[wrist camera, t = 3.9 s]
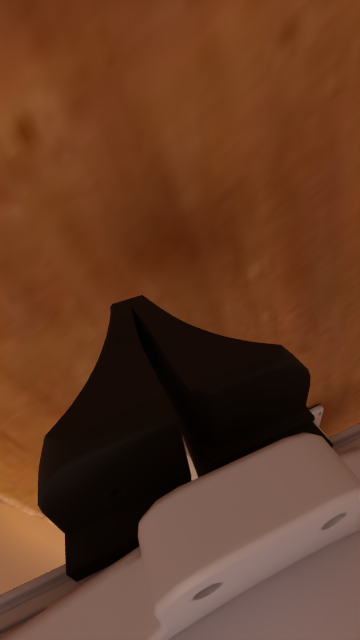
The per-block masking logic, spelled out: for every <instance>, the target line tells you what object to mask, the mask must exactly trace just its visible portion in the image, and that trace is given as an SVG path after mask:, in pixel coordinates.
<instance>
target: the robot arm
mask: <svg viewBox="0 0 360 640" xmlns="http://www.w3.org/2000/svg"><path fill="white" fill-rule="evenodd" d="M110 308H111V315H110V322H109V327H108V332H107V336H106V339H105V342H104V345H103V349H102V351H101V354H100V356H99V359H98V361H97V363H96V366H95V368H94V370H93V372H92V373H91V375H90V377H89V379H88V381H87V383H86V384H85V386H84V388H83V389H82V391H81V392H80V394H79V395H78V396H77V398H76V399H75V401H74V402H73V404H72V405H71V406H70V408H69V409H68V410H67V411H66V413H65V414H64V415H63V416H62V417H61V418H60V420H59V421H58V422H57V423H56V424H55V425H54V426H53V428H52V429H51V430H50V431H49V432H48V433H47V434H46V436H45V439H44V443H43V448H42V453H41V458H40V464H39V473H38V506H39V508H40V509H41V511H42V513H43V514H44V515H45V516H46V517H48V518H49V519H50V520H51V521H52V522H53V523H54V524H55V525H56V526H57V527H58V528H59V529H60V530H61V531H62V532H64V533H65V552H66V553H65V555H66V564H64V565H62V566H60V567H58V568H56V569H54V570H52V571H50V572H48V573H46V574H43V575H41V576H39V577H37V578H35V579H33V580H31V581H29V582H27V583H25V584H23V585H21V586H18V587H16V588H14V589H13V590H10V591H8V592H6V593H4V594H2V595H0V640H360V423H359V424H357V425H355V426H353V427H351V428H348V429H346V430H344V431H342V432H340V433H338V434H336V435H334V436H332V437H330V438H329V437H328V436H327V435H326V434H325V433H324V432H323V431H322V429H321V428H320V427H319V425H320V421H321V418H322V414H323V410H324V408H323V407H322V406H321V405H319V406H316V407H314V408H312V409H310V410H309V409H308V408H307V407H306V402H307V397H308V392H309V387H310V373H309V371H308V369H307V368H306V367H305V366H304V365H303V364H302V363H301V362H300V361H299V360H298V359H297V358H296V357H295V356H294V355H293V354H292V353H290V352H289V351H288V350H287V349H285V348H284V347H283V346H282V345H276V344H267V343H257V342H250V341H244V340H239V339H234V338H229V337H225V336H221V335H218V334H214V333H211V332H208V331H205V330H202V329H200V328H197V327H194V326H192V325H190V324H187V323H185V322H183V321H181V320H179V319H178V318H176V317H174V316H172V315H171V314H169V313H167V312H166V311H164V310H163V309H161V308H160V307H158V306H157V305H155V304H154V303H152V302H151V301H150V300H148V299H147V298H146V297H144V296H143V295H140V296H137V297H134V298H130V299H127V300H124V301H121V302H117V303H114V304H112V305H111V307H110ZM183 439H184V442H185V444H186V447H187V449H188V452H189V455H190V457H191V460H192V462H193V465H194V468H195V470H196V473H197V476H198V478H197V479H195V480H193V481H192V479H191V477H192V476H191V472H190V467H189V463H188V459H187V454H186V450H185V446H184V442H183Z"/></svg>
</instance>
